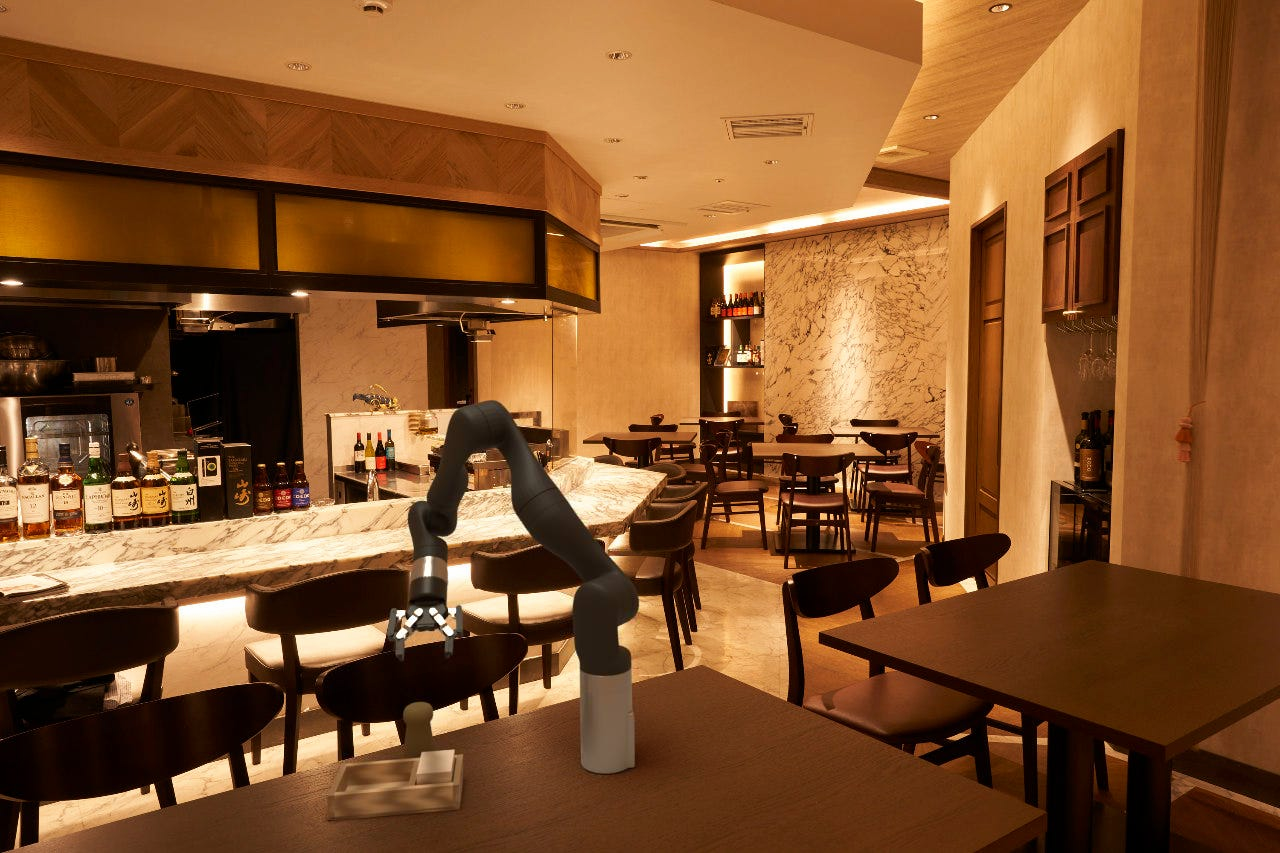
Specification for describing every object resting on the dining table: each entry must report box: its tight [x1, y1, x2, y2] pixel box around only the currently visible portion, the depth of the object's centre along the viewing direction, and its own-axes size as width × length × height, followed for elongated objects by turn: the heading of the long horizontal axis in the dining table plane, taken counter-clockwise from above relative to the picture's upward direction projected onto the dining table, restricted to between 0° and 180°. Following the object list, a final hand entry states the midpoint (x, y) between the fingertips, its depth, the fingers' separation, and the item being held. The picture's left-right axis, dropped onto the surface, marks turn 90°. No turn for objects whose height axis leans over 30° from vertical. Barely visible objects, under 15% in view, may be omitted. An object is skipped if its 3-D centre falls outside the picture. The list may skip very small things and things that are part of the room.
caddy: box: [327, 749, 464, 821], centre depth 134 cm, size 20×11×6 cm, turn 99°
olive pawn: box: [402, 701, 436, 759], centre depth 146 cm, size 6×6×11 cm
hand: (424, 657), depth 157 cm, fingers open, 8 cm apart
